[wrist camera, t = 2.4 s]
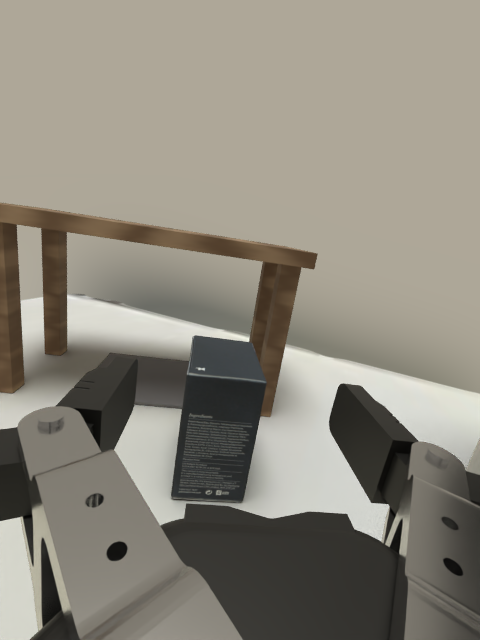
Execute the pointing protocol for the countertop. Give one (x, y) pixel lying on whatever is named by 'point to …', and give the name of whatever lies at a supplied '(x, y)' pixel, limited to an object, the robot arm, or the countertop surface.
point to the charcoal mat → (157, 380)
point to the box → (218, 420)
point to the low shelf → (278, 261)
